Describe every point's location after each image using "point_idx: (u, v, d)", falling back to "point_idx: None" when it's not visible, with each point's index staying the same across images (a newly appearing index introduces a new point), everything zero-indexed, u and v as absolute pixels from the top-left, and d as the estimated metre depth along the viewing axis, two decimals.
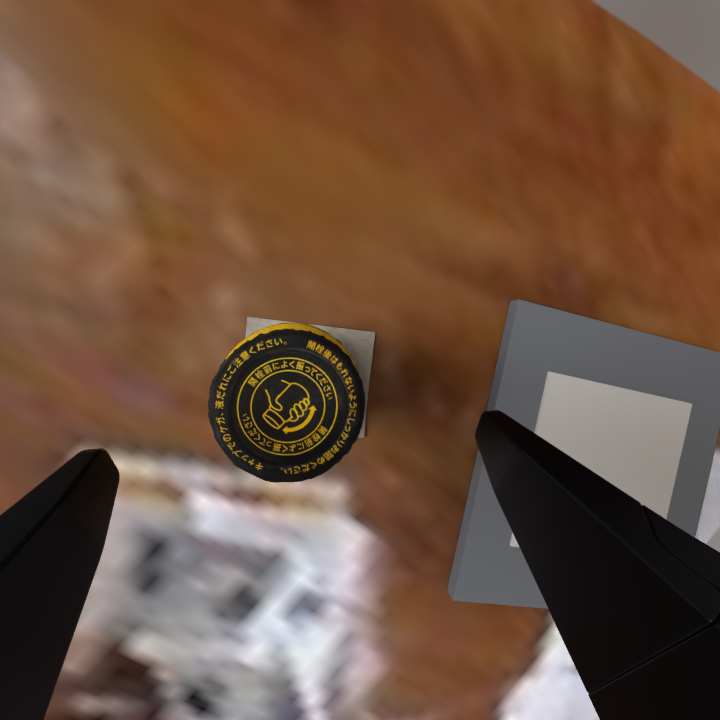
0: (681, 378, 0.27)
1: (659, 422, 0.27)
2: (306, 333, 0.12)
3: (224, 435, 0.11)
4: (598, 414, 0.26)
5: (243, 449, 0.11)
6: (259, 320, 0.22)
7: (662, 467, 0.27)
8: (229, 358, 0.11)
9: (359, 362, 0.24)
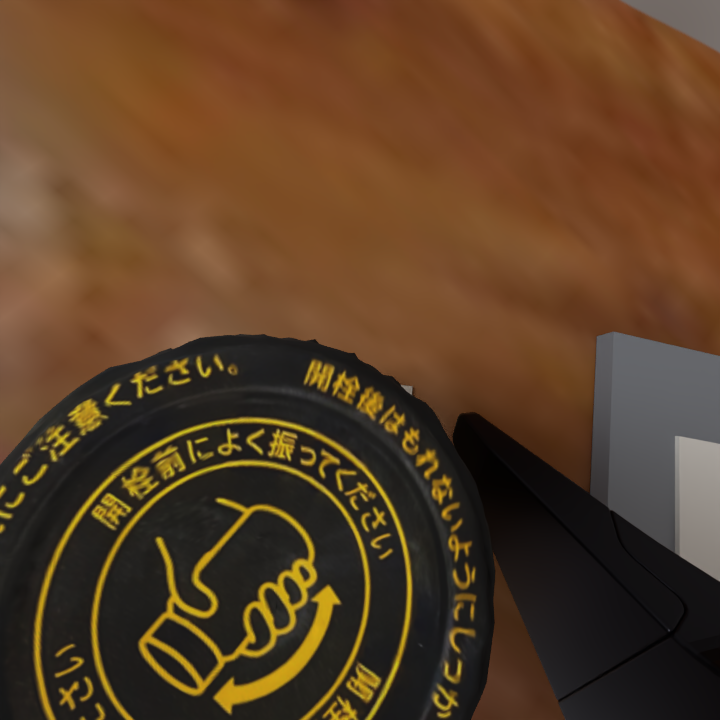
0: None
1: None
2: (303, 342, 0.04)
3: None
4: None
5: None
6: None
7: None
8: (33, 428, 0.03)
9: None
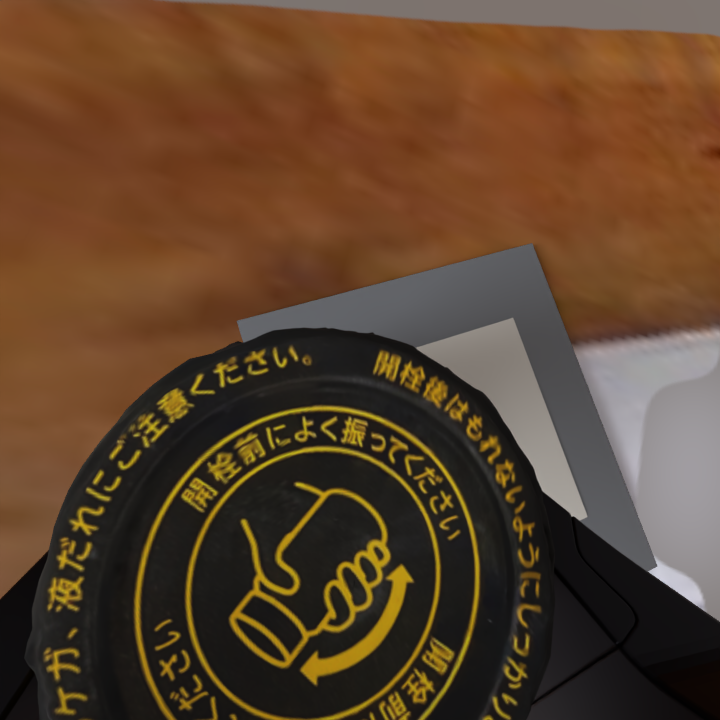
0: (485, 298, 0.22)
1: (487, 358, 0.22)
2: (367, 334, 0.04)
3: None
4: None
5: None
6: None
7: (523, 404, 0.21)
8: (123, 416, 0.03)
9: None
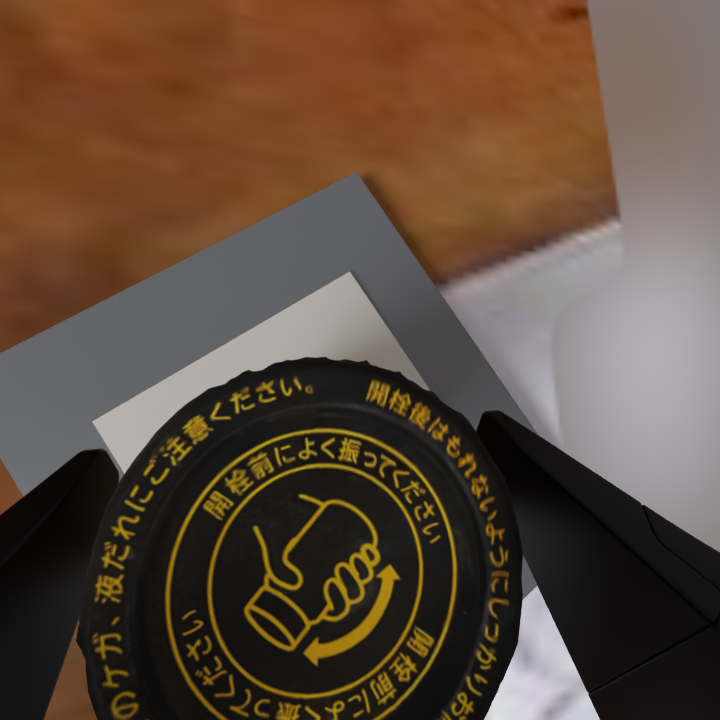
0: (308, 256, 0.17)
1: (326, 332, 0.16)
2: (361, 364, 0.05)
3: (117, 697, 0.03)
4: None
5: None
6: None
7: None
8: (153, 439, 0.04)
9: None
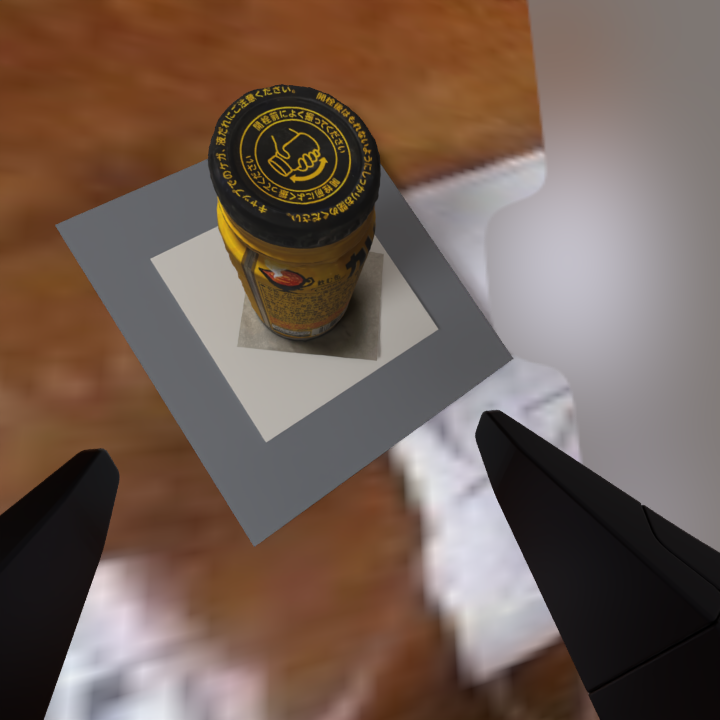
0: None
1: None
2: None
3: (224, 173, 0.10)
4: None
5: (245, 189, 0.10)
6: None
7: None
8: (234, 102, 0.10)
9: (368, 282, 0.22)
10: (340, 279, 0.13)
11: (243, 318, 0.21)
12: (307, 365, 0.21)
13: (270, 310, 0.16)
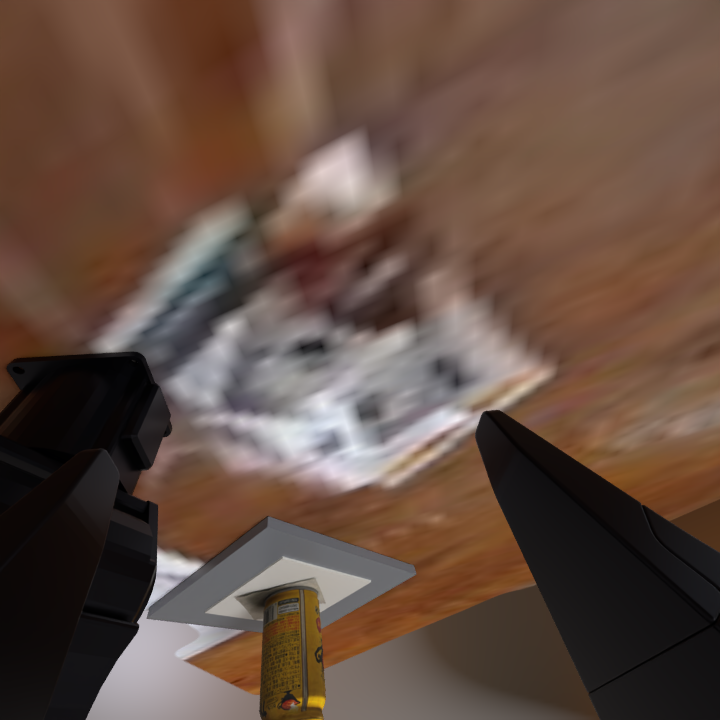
0: None
1: None
2: None
3: None
4: (328, 596, 0.40)
5: None
6: (319, 603, 0.41)
7: None
8: None
9: (256, 612, 0.39)
10: (267, 705, 0.30)
11: (317, 585, 0.38)
12: (274, 582, 0.36)
13: (297, 643, 0.33)
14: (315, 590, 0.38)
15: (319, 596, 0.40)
